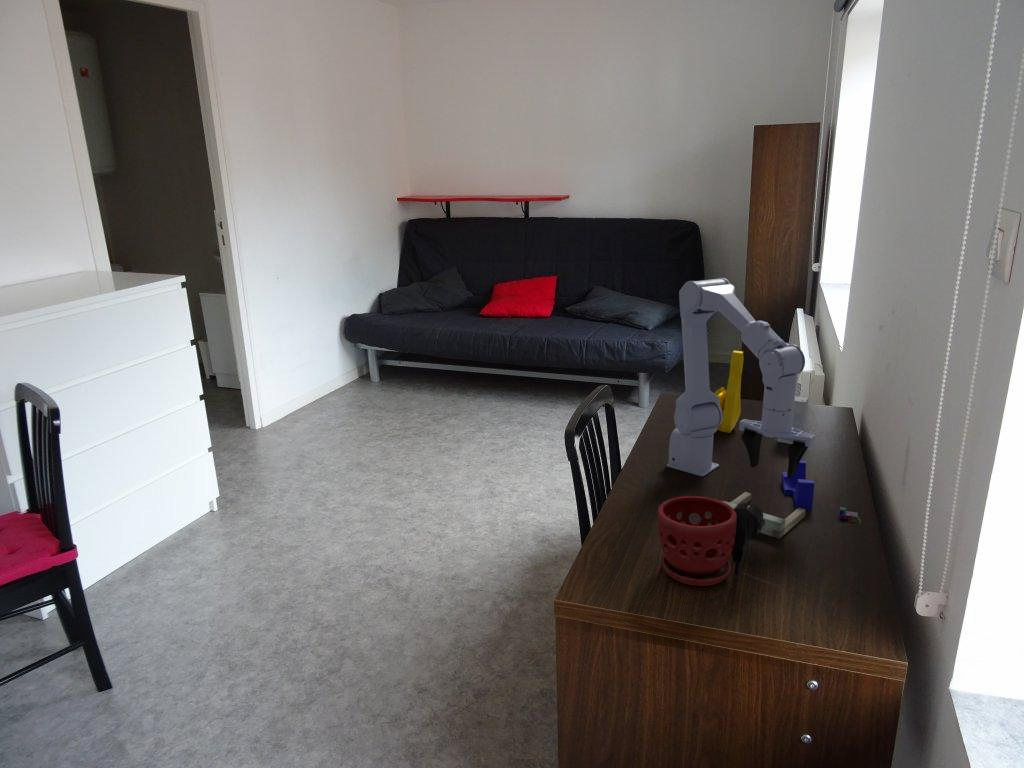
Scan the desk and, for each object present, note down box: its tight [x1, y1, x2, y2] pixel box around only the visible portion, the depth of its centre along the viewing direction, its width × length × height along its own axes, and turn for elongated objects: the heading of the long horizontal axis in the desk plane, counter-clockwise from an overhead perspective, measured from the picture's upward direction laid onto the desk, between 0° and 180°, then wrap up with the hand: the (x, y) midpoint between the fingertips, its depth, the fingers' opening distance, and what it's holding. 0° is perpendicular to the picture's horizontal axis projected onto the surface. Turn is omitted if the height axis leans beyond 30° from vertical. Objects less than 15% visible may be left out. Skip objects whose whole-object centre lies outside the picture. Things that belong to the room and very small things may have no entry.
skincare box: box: [777, 395, 810, 445], centre depth 180 cm, size 6×4×12 cm
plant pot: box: [657, 495, 737, 587], centre depth 124 cm, size 13×13×12 cm
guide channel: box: [718, 491, 807, 539], centre depth 144 cm, size 13×12×3 cm
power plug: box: [731, 502, 765, 577], centre depth 124 cm, size 6×8×12 cm
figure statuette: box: [713, 350, 745, 434], centre depth 188 cm, size 18×8×22 cm, turn 155°
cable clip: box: [780, 459, 815, 510], centre depth 152 cm, size 12×4×6 cm, turn 167°
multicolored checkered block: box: [838, 506, 862, 524], centre depth 142 cm, size 4×3×2 cm, turn 66°
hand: (772, 470), depth 144 cm, fingers open, 7 cm apart
